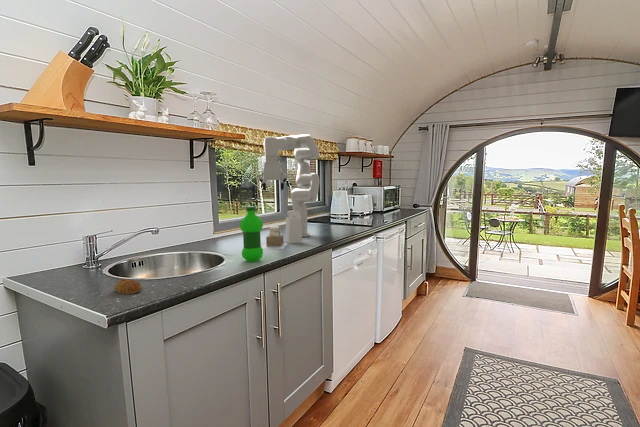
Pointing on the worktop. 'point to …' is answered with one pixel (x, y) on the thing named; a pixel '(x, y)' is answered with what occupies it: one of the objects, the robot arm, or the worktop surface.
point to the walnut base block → (274, 241)
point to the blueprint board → (274, 246)
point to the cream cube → (274, 231)
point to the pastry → (127, 286)
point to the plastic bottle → (251, 235)
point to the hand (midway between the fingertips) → (273, 190)
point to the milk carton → (293, 227)
